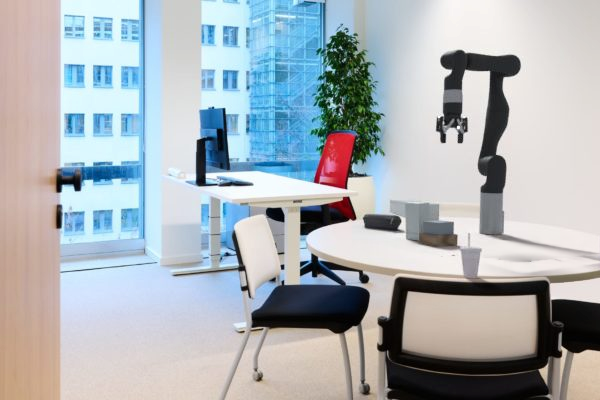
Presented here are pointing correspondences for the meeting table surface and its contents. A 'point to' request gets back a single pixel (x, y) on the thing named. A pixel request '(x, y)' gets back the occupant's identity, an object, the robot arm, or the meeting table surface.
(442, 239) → the tower base
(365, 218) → the glasses case
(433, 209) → the long grey block
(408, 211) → the skincare box
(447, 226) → the tower top
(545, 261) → the meeting table surface
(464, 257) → the smoothie
